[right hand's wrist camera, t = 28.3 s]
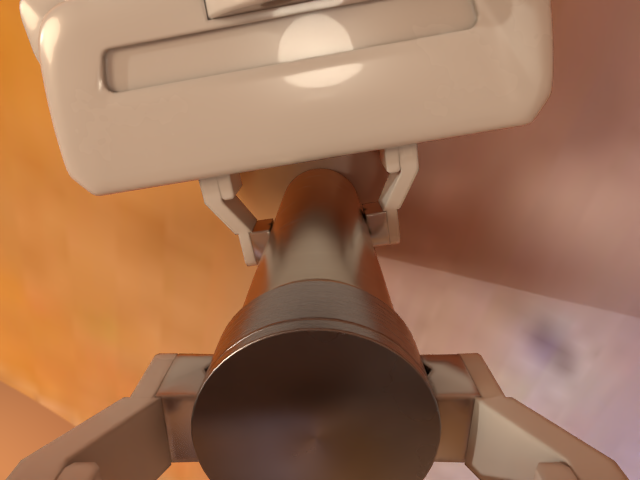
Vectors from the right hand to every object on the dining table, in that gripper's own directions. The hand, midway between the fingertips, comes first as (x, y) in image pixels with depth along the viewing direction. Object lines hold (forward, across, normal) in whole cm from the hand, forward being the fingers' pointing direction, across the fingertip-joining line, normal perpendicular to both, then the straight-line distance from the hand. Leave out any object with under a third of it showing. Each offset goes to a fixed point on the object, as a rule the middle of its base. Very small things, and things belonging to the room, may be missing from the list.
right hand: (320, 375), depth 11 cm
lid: (-2, 0, 0) cm, 2 cm away
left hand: (+11, 0, -1) cm, 11 cm away
